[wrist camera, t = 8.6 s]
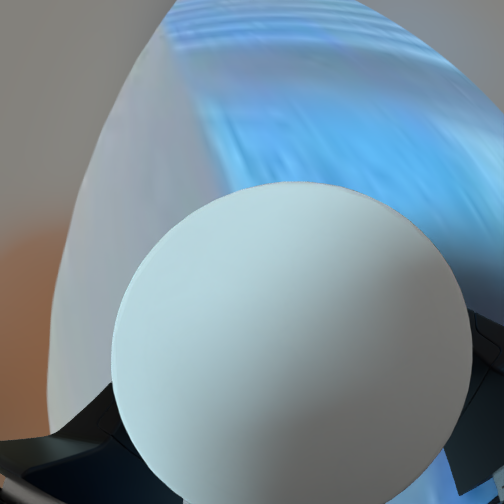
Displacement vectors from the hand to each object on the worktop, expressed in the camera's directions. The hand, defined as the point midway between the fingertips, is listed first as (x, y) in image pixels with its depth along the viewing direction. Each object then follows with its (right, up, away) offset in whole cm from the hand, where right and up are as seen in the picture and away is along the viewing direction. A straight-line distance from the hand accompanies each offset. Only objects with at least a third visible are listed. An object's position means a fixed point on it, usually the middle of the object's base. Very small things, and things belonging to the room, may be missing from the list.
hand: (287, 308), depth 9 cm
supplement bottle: (+1, -3, +6) cm, 7 cm away
